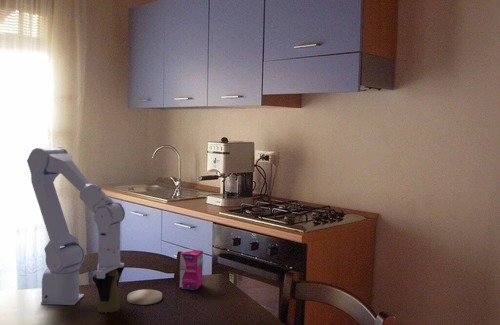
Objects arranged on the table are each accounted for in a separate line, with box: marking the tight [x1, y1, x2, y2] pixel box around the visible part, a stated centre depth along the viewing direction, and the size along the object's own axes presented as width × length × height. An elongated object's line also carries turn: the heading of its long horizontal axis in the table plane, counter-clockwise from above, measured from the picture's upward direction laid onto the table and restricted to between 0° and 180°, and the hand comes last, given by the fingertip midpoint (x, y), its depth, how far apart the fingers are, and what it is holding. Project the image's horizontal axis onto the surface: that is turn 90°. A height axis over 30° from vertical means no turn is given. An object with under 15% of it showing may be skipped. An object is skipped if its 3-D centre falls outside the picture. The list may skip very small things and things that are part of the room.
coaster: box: [126, 288, 163, 306], centre depth 138 cm, size 10×10×1 cm
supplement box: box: [179, 248, 204, 291], centre depth 149 cm, size 6×6×12 cm
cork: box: [96, 269, 121, 314], centre depth 129 cm, size 6×6×11 cm
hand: (108, 296), depth 129 cm, fingers open, 6 cm apart
